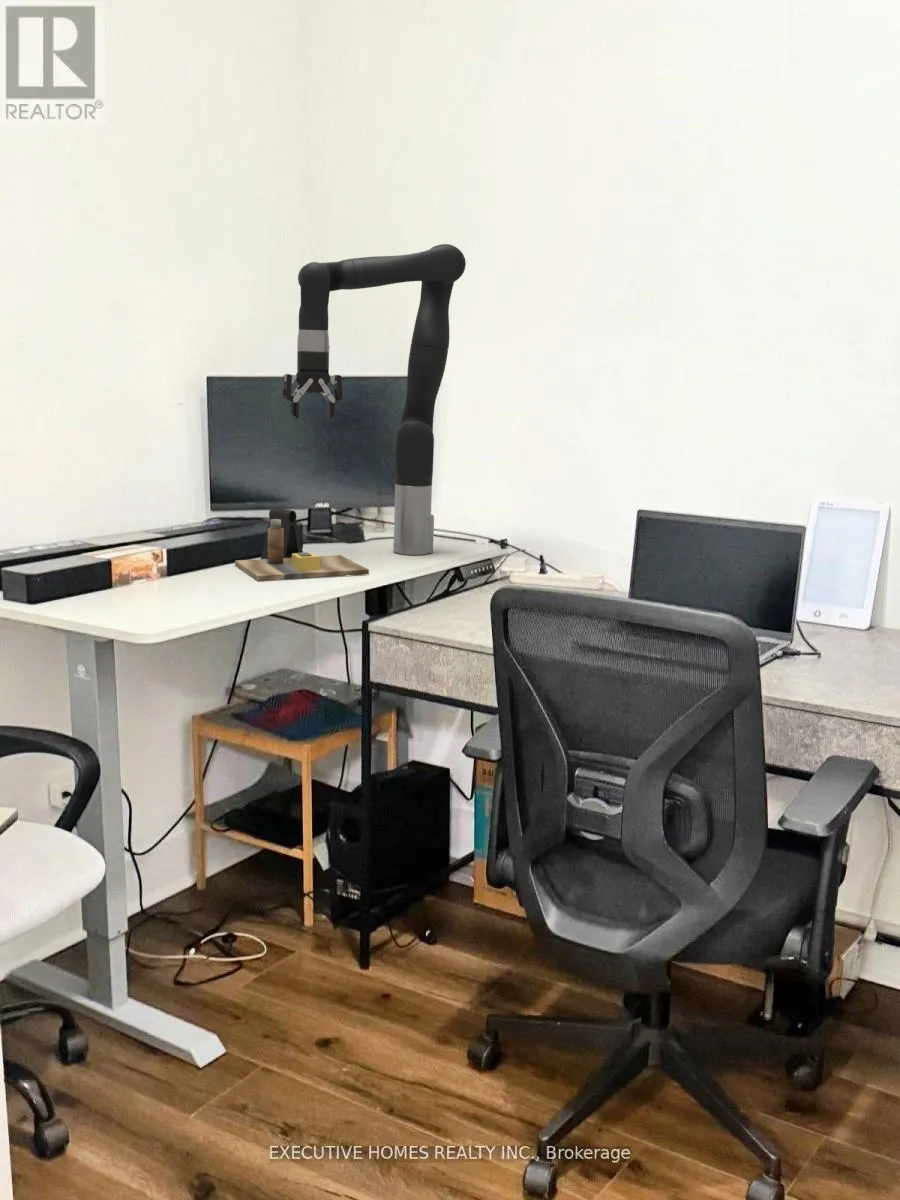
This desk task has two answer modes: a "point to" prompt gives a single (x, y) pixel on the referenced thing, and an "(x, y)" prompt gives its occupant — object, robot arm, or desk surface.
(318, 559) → the block
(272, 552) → the brown wooden bottle
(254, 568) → the panel
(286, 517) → the phone stand
